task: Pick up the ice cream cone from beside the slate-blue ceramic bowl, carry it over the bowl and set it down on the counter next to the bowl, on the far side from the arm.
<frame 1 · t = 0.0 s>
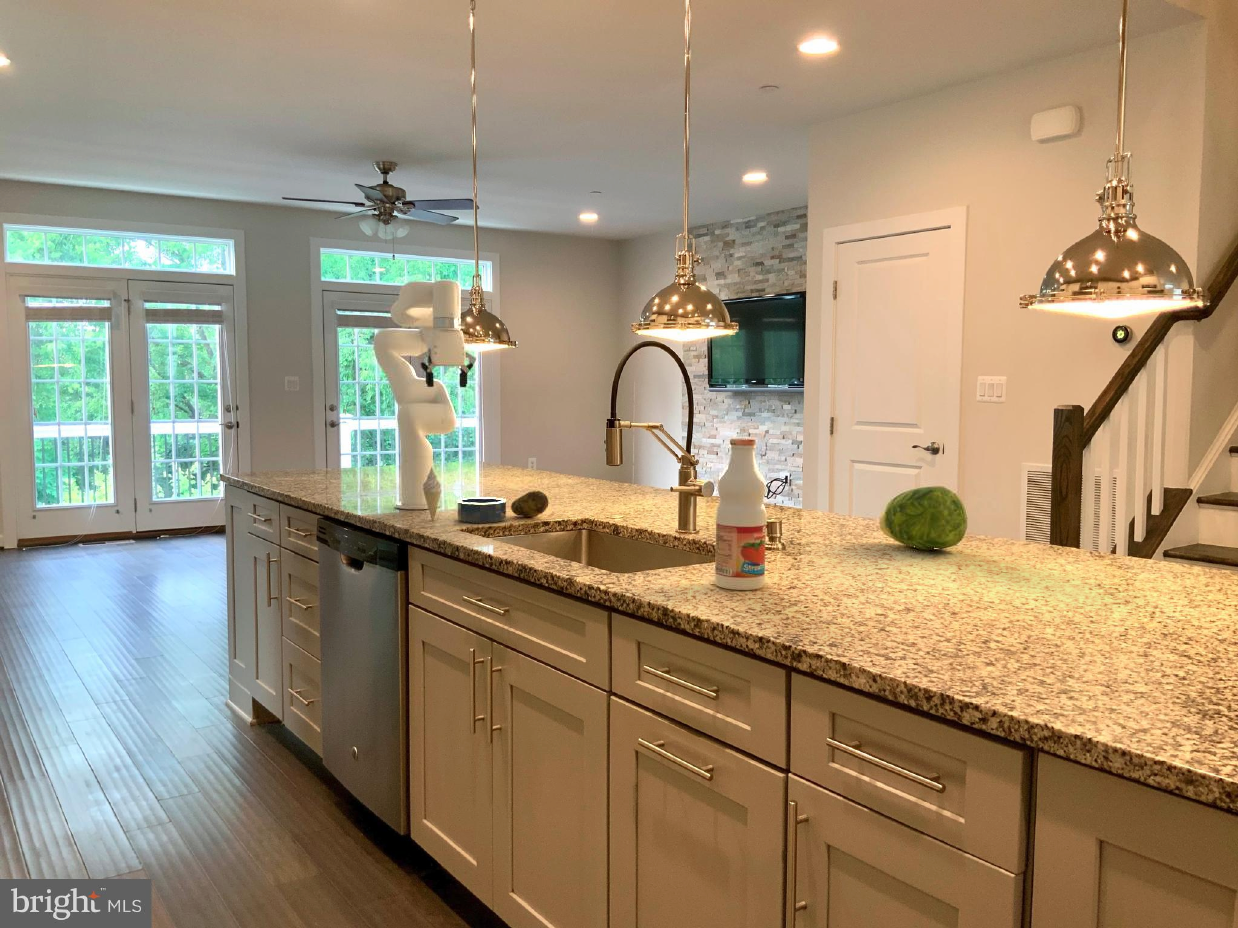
hand: (446, 387, 259), 37 cm above the worktop, tool pointing down, fingers open, 9 cm apart
bowl: (481, 520, 257), on the worktop
fruit juice: (739, 586, 177), on the worktop
lettuce: (920, 548, 221), on the worktop
potato: (530, 518, 263), on the worktop
ice cream cone: (432, 521, 256), on the worktop
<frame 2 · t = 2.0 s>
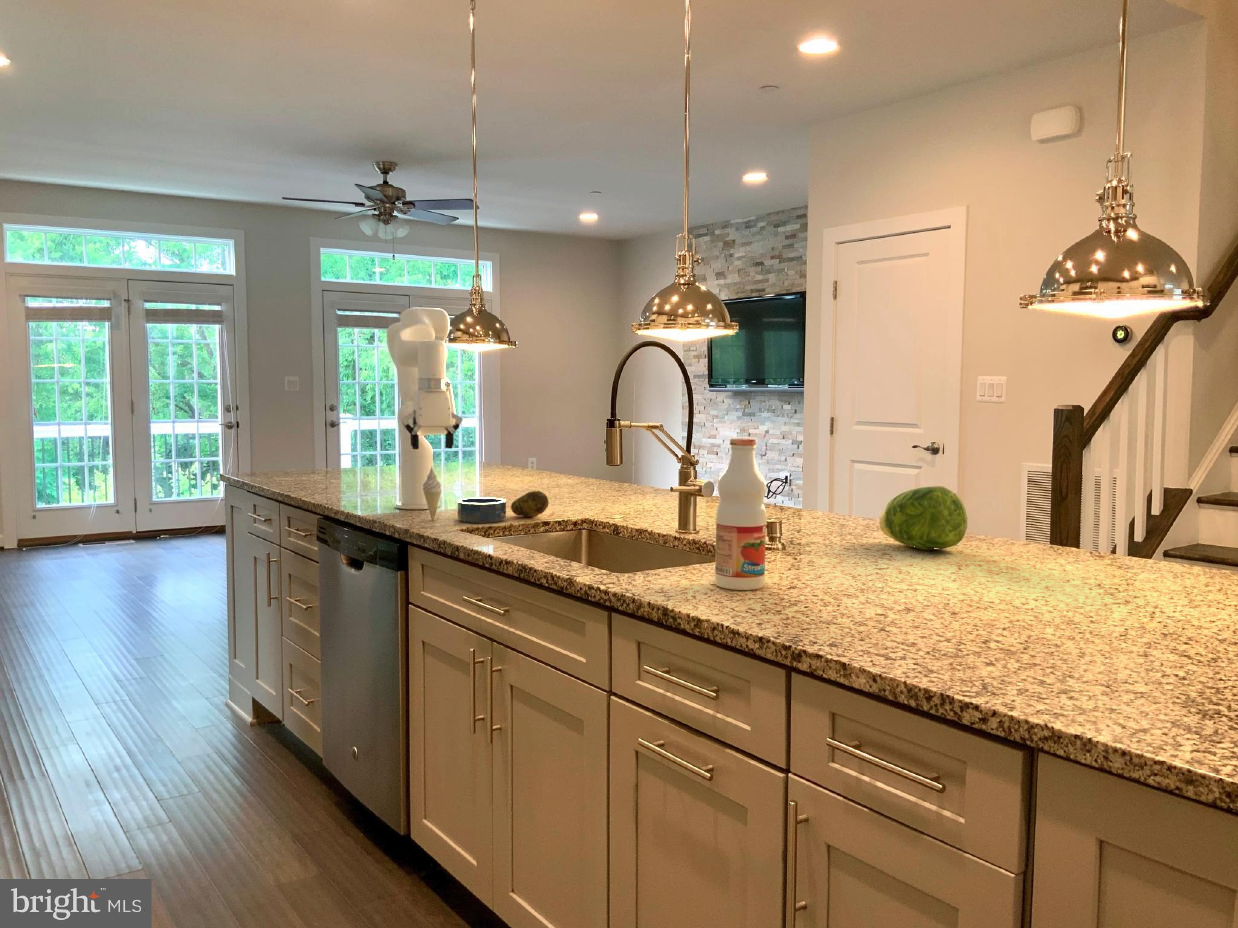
hand: (432, 448, 254), 20 cm above the worktop, tool pointing down, fingers open, 9 cm apart
nothing on the worktop moved.
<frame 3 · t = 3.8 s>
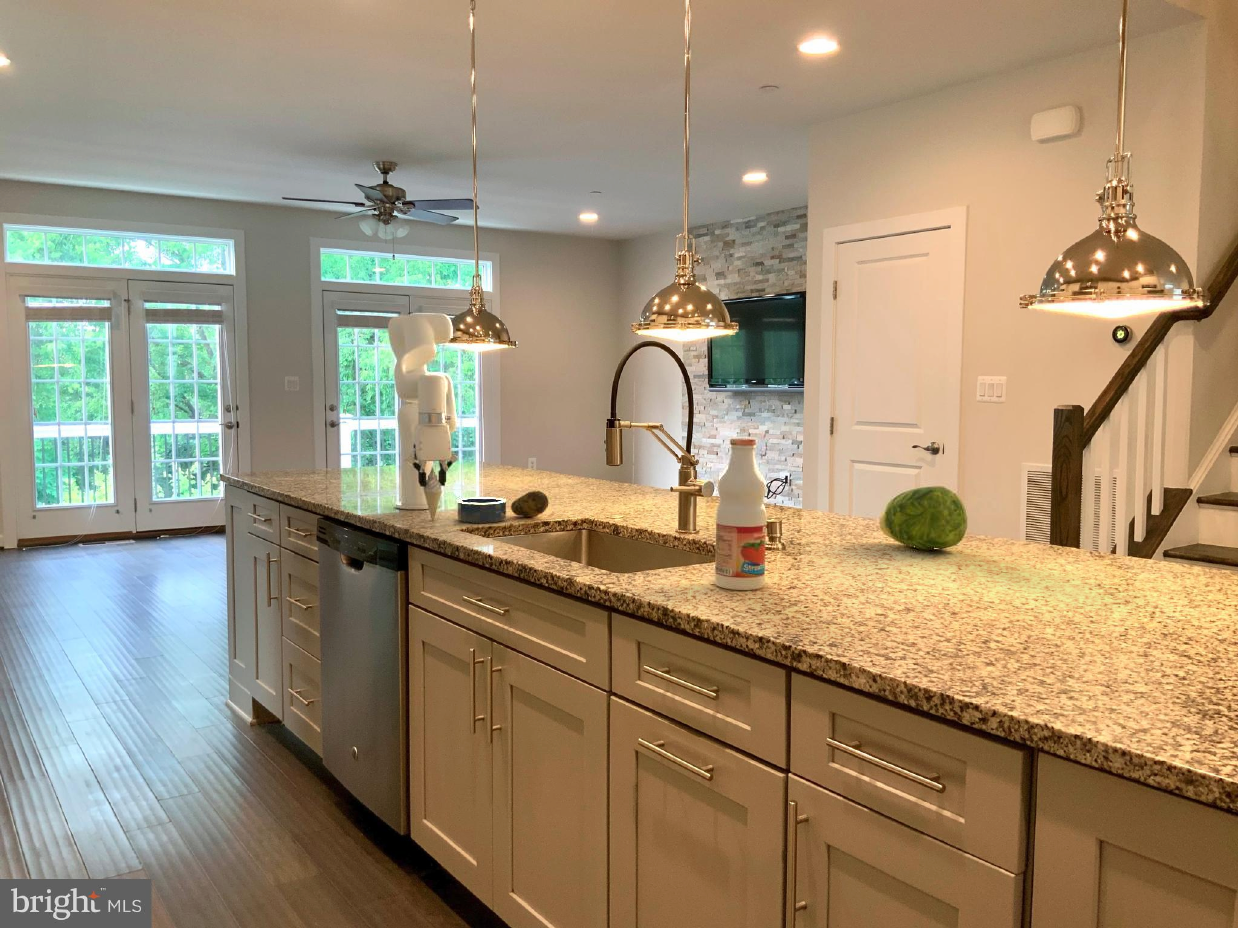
hand: (432, 485, 255), 10 cm above the worktop, tool pointing down, fingers closed on ice cream cone, 4 cm apart
ice cream cone: (432, 521, 256), on the worktop, touching gripper
everything else where it was.
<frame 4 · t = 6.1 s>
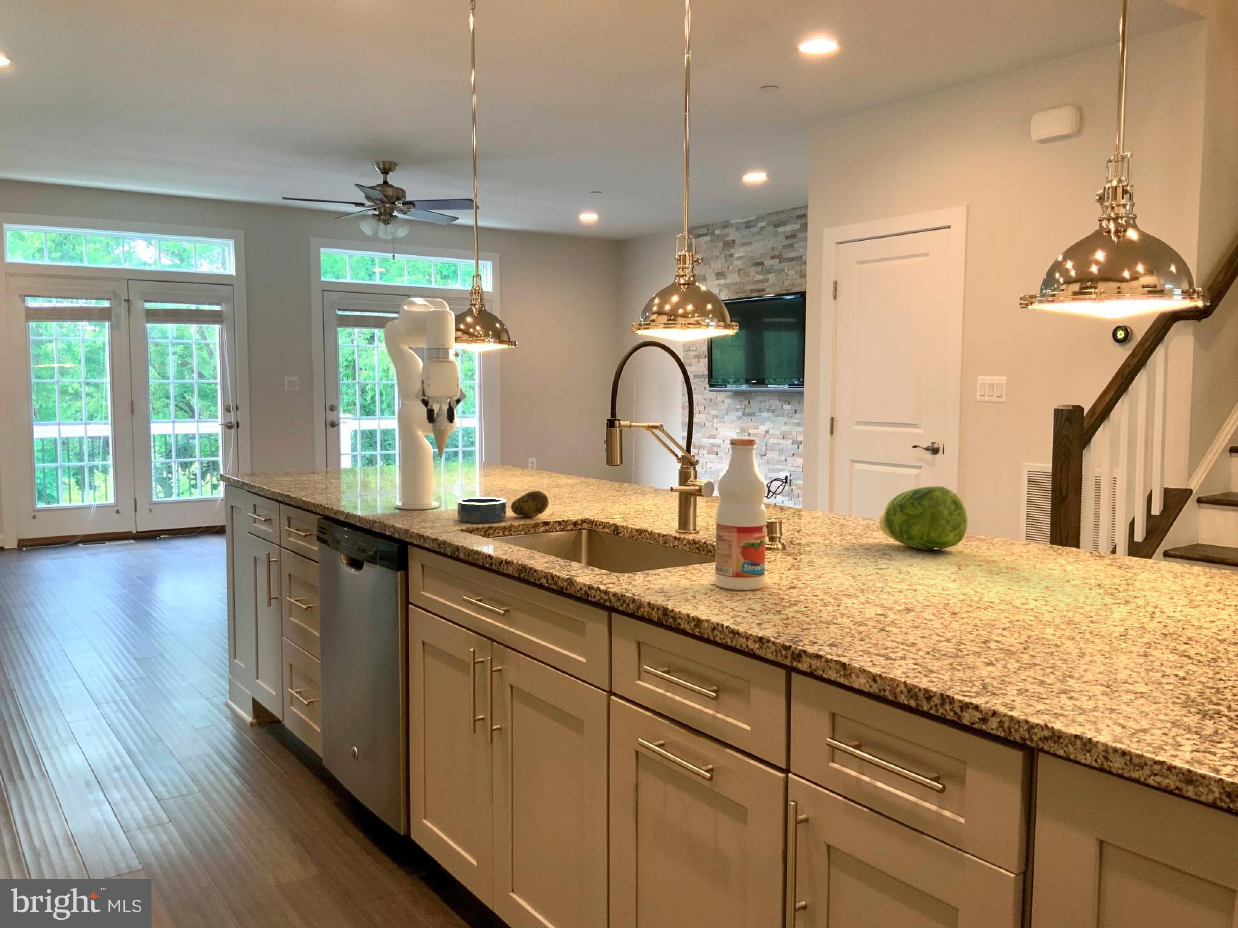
hand: (440, 422, 252), 27 cm above the worktop, tool pointing down, fingers closed on ice cream cone, 4 cm apart
ice cream cone: (440, 459, 253), point 17 cm above the worktop, touching gripper
everything else where it was.
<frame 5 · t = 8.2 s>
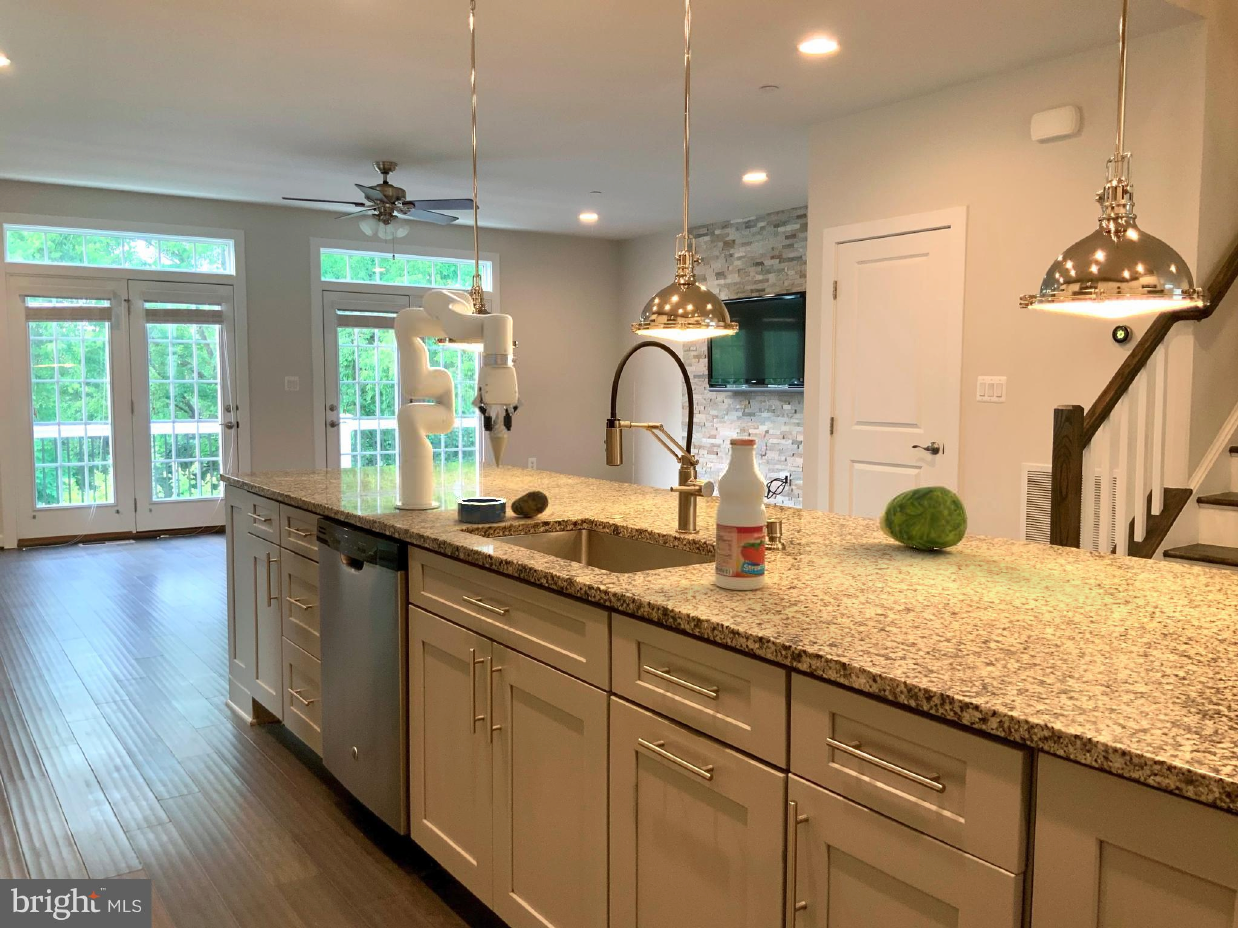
hand: (497, 430, 245), 26 cm above the worktop, tool pointing down, fingers closed on ice cream cone, 4 cm apart
ice cream cone: (497, 467, 246), point 16 cm above the worktop, touching gripper
everything else where it was.
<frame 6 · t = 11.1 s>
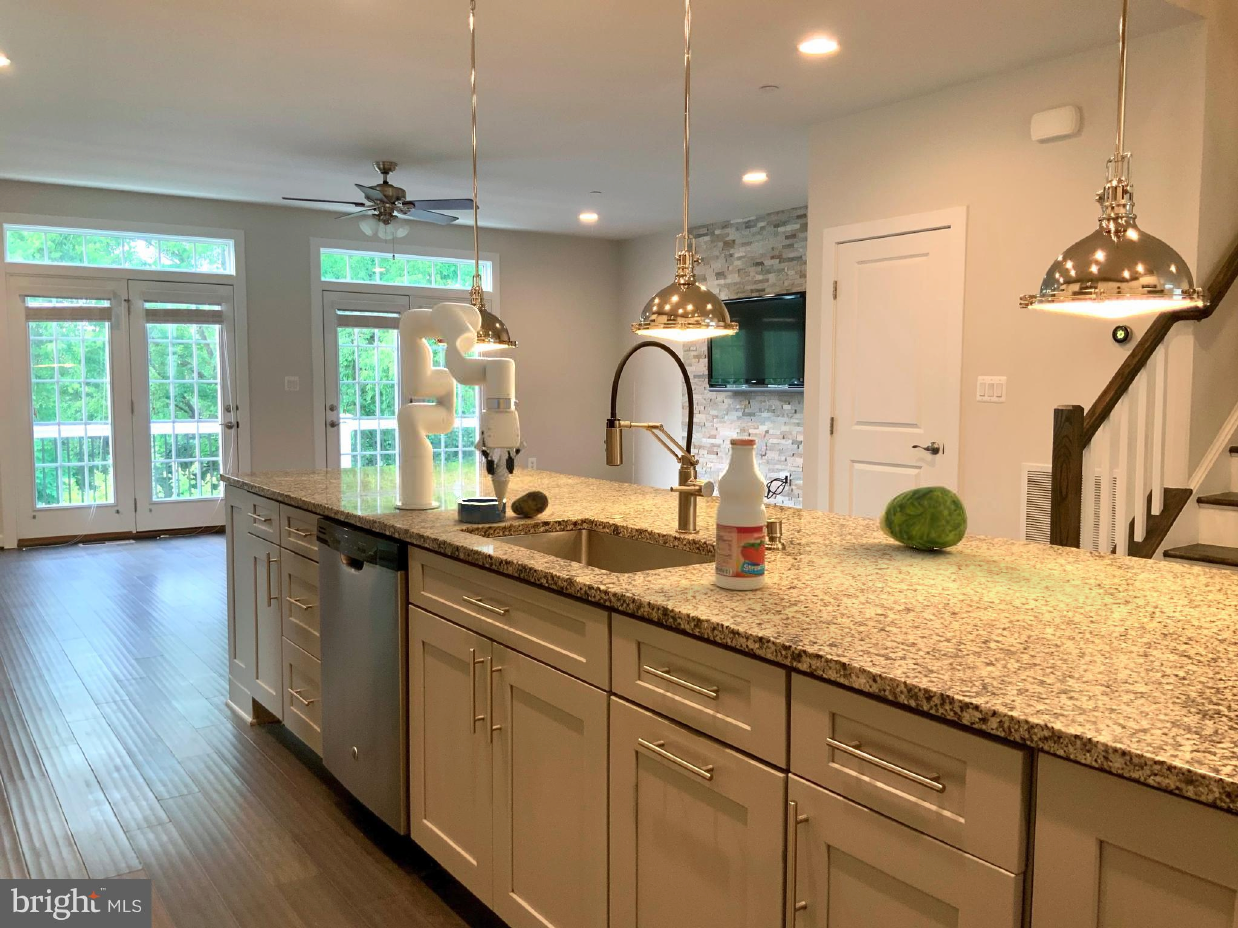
hand: (500, 473, 246), 14 cm above the worktop, tool pointing down, fingers closed on ice cream cone, 4 cm apart
ice cream cone: (500, 510, 247), point 4 cm above the worktop, touching gripper
everything else where it was.
when the fingers open (10 cm above the worktop, at t = 12.8 s): ice cream cone moves 2 cm, point 1 cm above the worktop.
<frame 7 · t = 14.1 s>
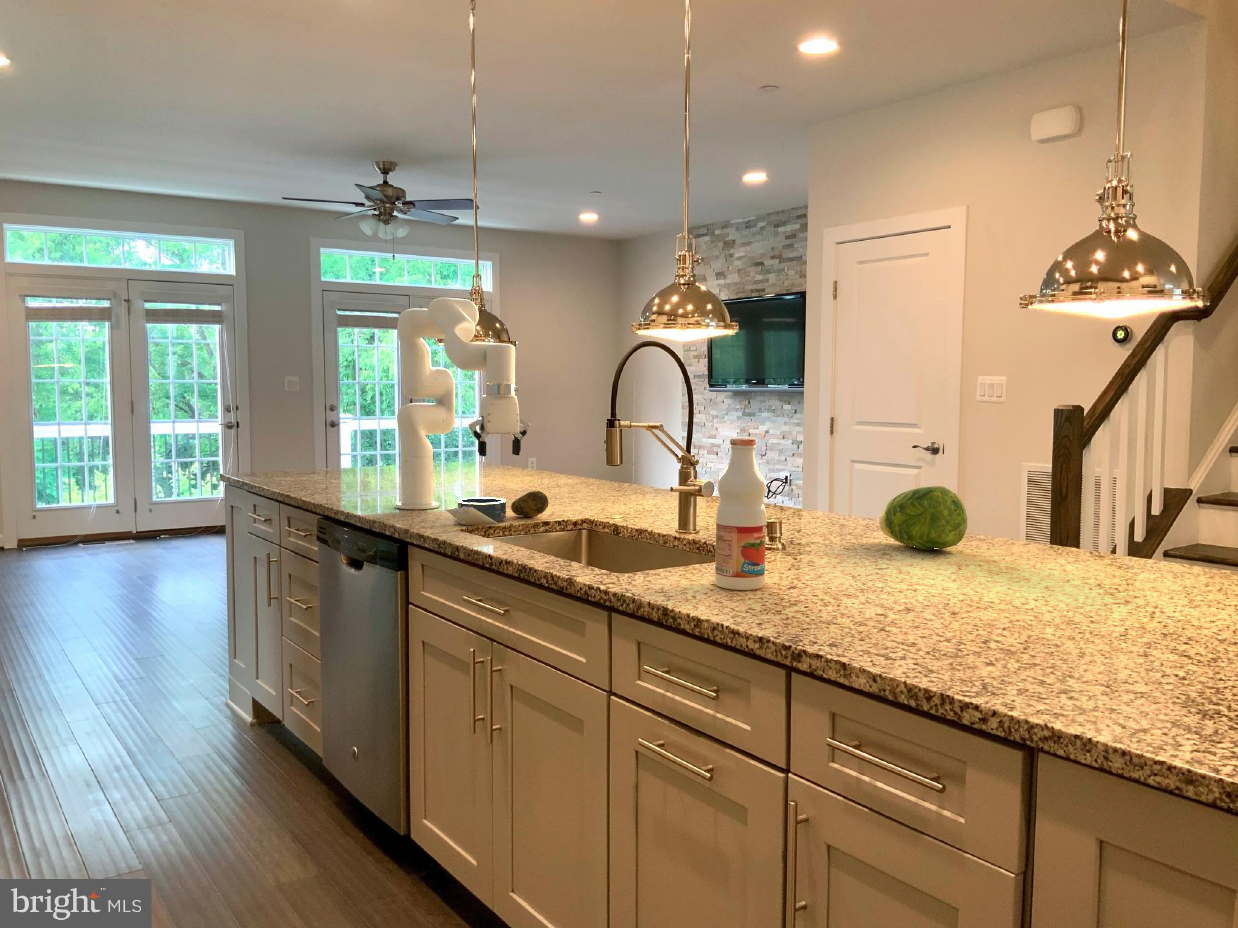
hand: (499, 455, 246), 19 cm above the worktop, tool pointing down, fingers open, 9 cm apart
ice cream cone: (497, 523, 246), point 1 cm above the worktop
everything else where it was.
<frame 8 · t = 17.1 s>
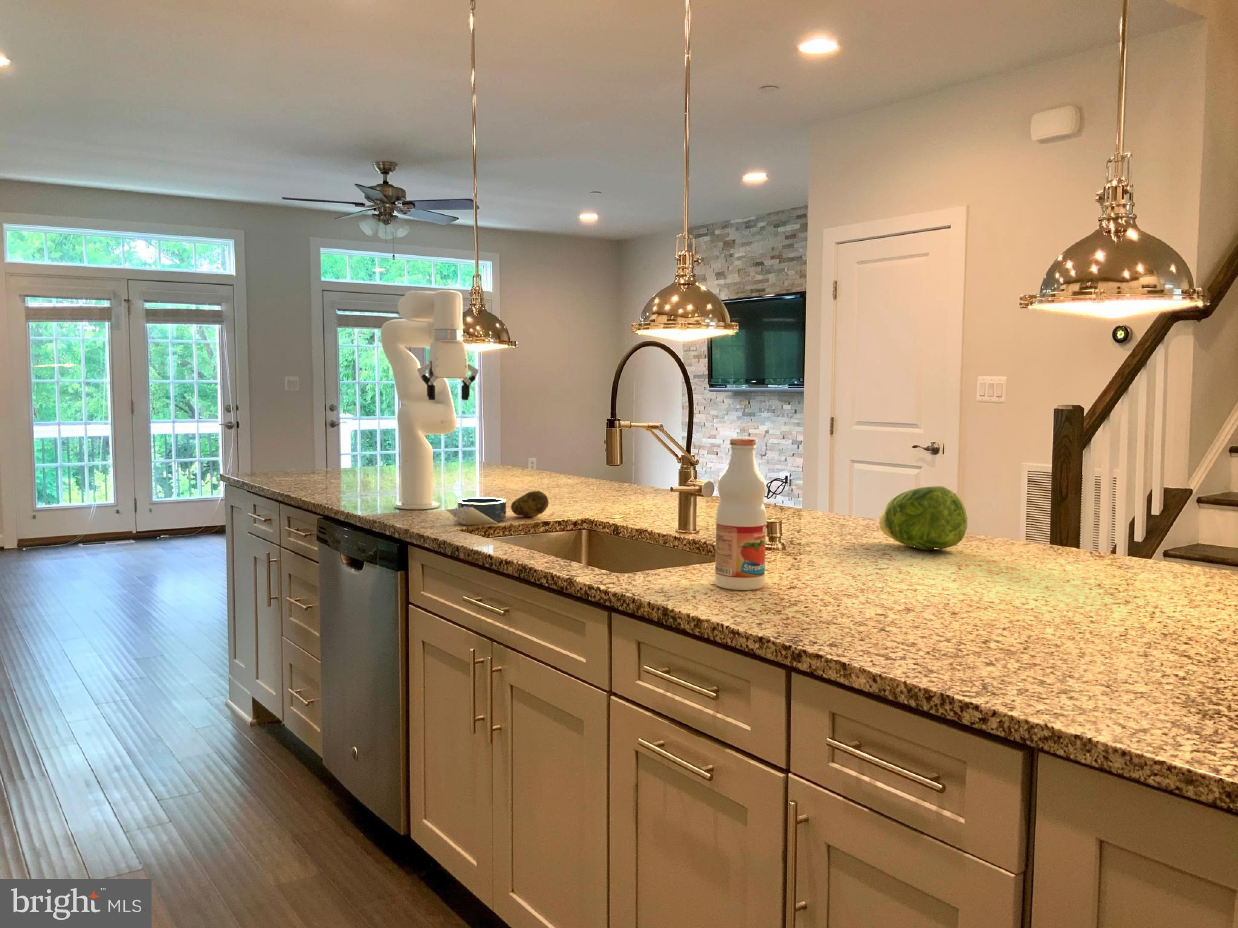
hand: (448, 399, 253), 33 cm above the worktop, tool pointing down, fingers open, 9 cm apart
nothing on the worktop moved.
at the end: ice cream cone inside the target area on the worktop beside the bowl (1.3 cm from its centre), point 0.8 cm above the worktop; the gripper is holding nothing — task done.
